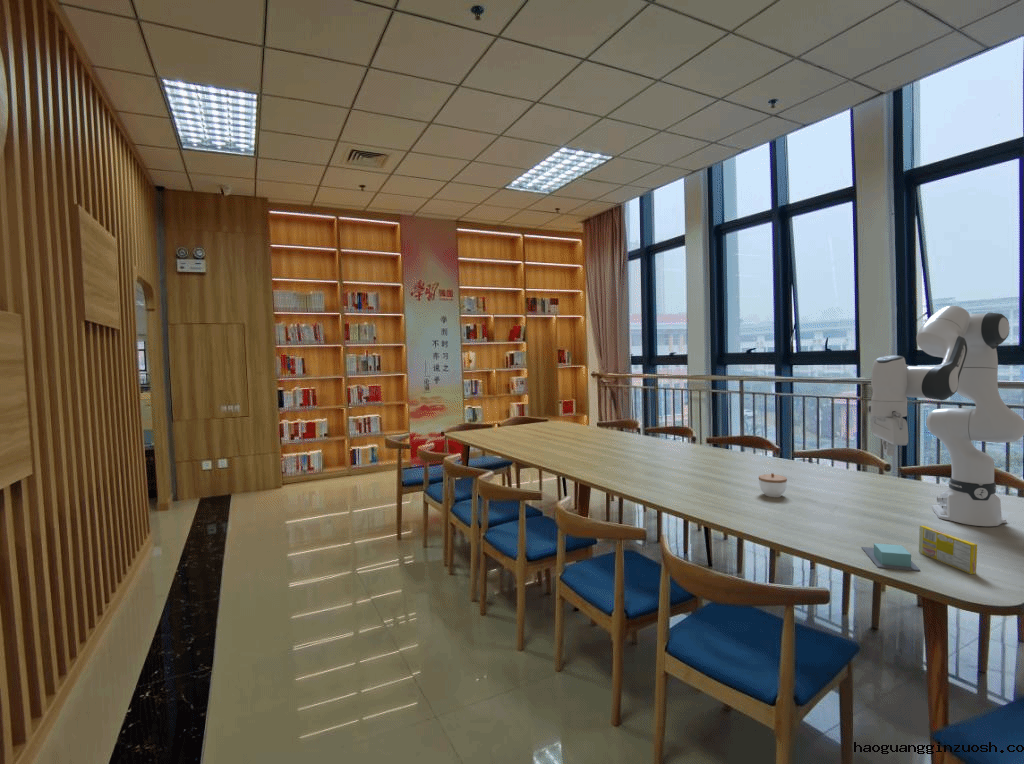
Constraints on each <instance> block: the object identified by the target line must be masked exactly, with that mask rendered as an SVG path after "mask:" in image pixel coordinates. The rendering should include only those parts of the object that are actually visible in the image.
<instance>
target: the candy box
mask: <svg viewBox="0 0 1024 764" xmlns="http://www.w3.org/2000/svg"><path fill="white" fill-rule="evenodd" d="M918 536H919V537H918V553H919V554H922V555H925V556H927V557H929V558H931V559H933V560H934V559H935V560H936V561H938V562H941V563H943V564H945V565H948V566H951V567H953V568H955V569H957V570H960V571H963V572H964V573H966V574H969V575H976V574H977V561H978V544H977V543H974V542H971V541H968V540H965V539H963V538H960V537H957V536H955V535H951V534H949V533H946V532H944V531H941V530H938V529H935V528H932V527H929V526H926V525H919V535H918Z"/></svg>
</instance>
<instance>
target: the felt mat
mask: <svg viewBox="0 0 1024 764" xmlns="http://www.w3.org/2000/svg"><path fill="white" fill-rule="evenodd" d="M861 550H863V552H864V553H865V554H866V556H868V557H869V559H870V560H871V561H872V563H873V562H874V563H873V564H874V565H875V567H876V568H878V569H888V570H889V569H890V570H902V571H913V572H914V571H915V572H921V569H920V568H919V567H918V566H917V565H916V564H915V563H914V562H913V561H912V560H911V567H908V566H897V565H885V564H881V563H880V562H879V560H878V559H877V558H876V557H875V556H874V547H871V546H870V547H868V546H861Z"/></svg>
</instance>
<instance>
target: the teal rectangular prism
mask: <svg viewBox="0 0 1024 764" xmlns="http://www.w3.org/2000/svg"><path fill="white" fill-rule="evenodd" d="M873 548H874V556H875V557H876V558H877V559H878V560H879V562H880V563H881V564H885V565H897V566H908V567H911V561H912V554H911V552H910V551H908V549H906V548H905V547H904V546H903V545H900V544H888V543H887V544H885V543H873Z"/></svg>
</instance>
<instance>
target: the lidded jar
mask: <svg viewBox="0 0 1024 764" xmlns="http://www.w3.org/2000/svg"><path fill="white" fill-rule="evenodd" d="M787 482H788V478H787V477H786V476H784V475H779V474H775V473H774V472H772V473H770V474H769V473H767V474H760V475H759V476H758V486H759V489H760V491H761V493H763V494H764V495H765V496H766V497H768V498H781V496H782V495H783V494H784V493H785V492H786V490H787Z"/></svg>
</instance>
